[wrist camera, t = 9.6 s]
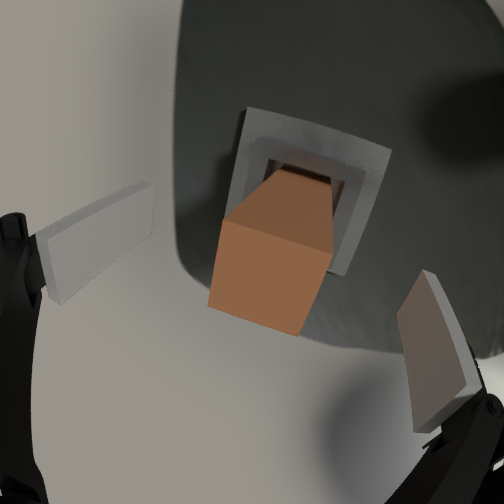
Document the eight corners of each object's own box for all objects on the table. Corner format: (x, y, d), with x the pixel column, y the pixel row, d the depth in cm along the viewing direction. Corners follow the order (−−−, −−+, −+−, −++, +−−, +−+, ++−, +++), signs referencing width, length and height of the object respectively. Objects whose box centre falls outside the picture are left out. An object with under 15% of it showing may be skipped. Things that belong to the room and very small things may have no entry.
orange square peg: (283, 164, 22) (222, 219, 10) (330, 179, 22) (333, 255, 9) (271, 209, 24) (207, 306, 12) (316, 223, 23) (297, 336, 11)
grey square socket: (250, 107, 21) (234, 104, 18) (389, 149, 20) (402, 154, 16) (223, 233, 27) (205, 252, 23) (343, 272, 26) (345, 298, 22)
